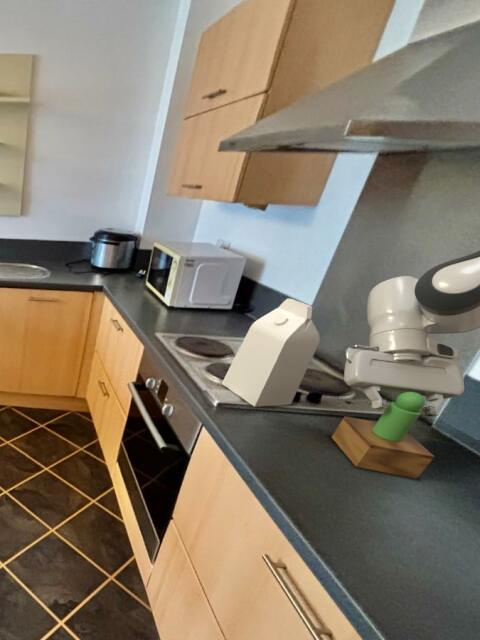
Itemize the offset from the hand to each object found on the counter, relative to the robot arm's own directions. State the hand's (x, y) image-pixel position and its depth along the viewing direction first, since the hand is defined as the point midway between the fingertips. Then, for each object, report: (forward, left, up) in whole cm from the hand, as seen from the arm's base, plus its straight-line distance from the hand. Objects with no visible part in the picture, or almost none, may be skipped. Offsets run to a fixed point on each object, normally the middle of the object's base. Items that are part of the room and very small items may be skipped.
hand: (404, 412), depth 85 cm
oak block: (0, 0, -12) cm, 12 cm away
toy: (0, 0, -6) cm, 6 cm away
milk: (+17, -22, -12) cm, 31 cm away
